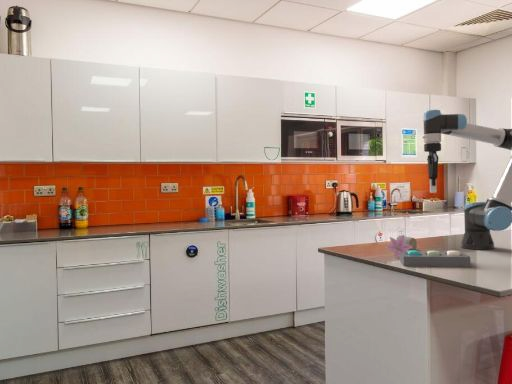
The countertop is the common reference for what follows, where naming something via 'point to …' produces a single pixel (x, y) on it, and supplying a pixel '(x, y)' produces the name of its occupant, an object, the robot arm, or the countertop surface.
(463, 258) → the console
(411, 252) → the teal button
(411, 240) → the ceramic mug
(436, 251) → the sage button
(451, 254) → the cream button
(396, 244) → the lily
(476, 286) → the countertop surface
